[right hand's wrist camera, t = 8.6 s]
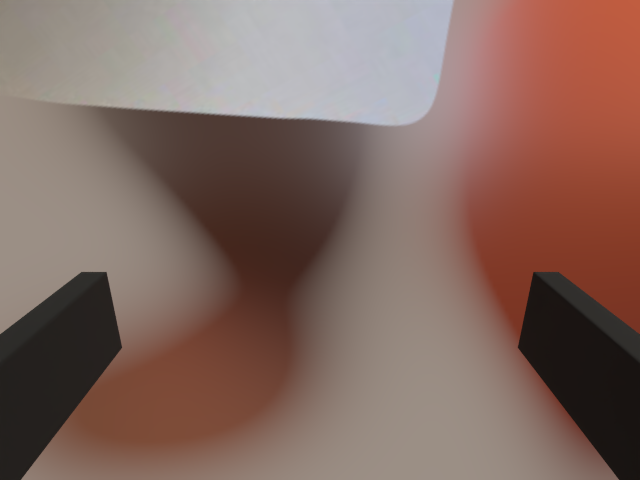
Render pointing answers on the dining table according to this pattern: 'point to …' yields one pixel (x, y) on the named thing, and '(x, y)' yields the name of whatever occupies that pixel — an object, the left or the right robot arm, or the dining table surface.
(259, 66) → the dining table surface
